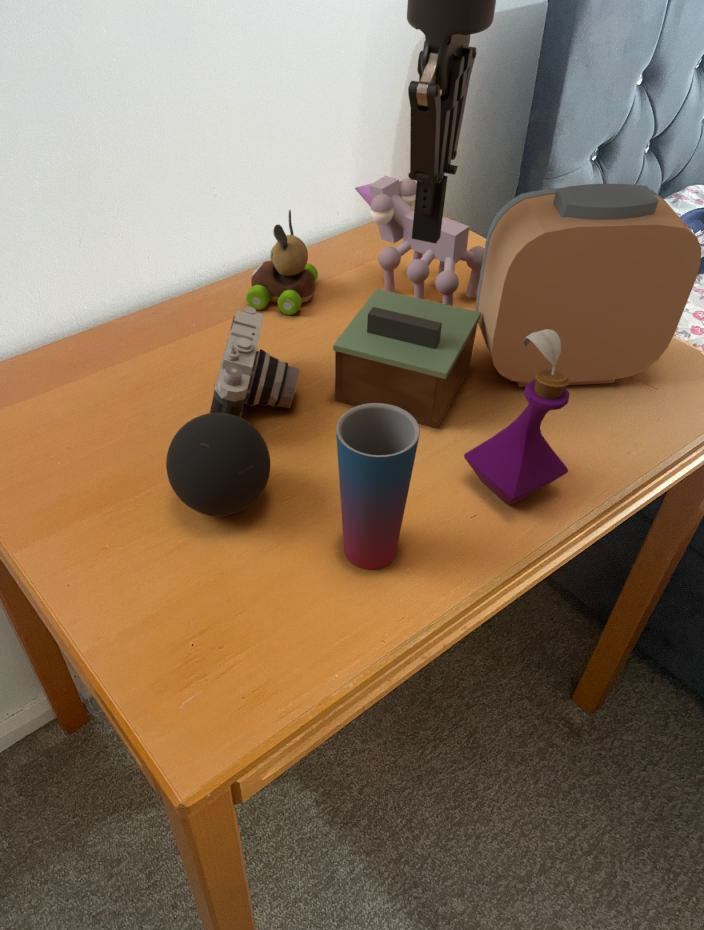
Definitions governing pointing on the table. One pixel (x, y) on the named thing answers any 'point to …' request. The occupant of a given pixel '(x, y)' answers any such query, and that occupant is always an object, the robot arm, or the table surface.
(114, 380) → the table surface
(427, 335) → the sliding lid
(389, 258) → the pink legged piece
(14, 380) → the table surface
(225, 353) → the camera
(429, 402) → the walnut box
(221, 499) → the speaker
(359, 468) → the cup
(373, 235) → the table surface
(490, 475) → the perfume bottle
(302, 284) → the toy car
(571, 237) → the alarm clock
